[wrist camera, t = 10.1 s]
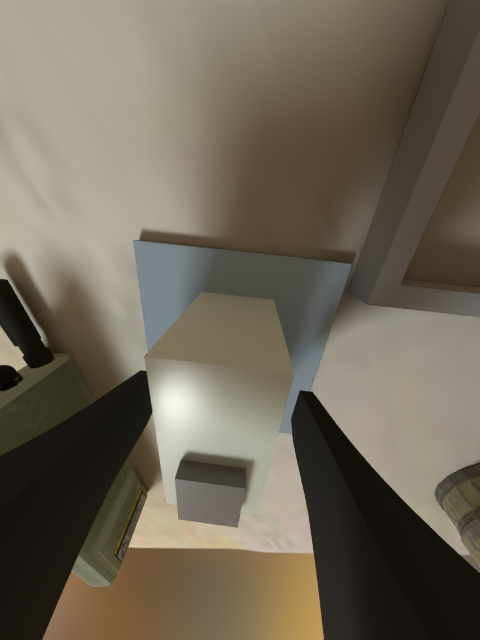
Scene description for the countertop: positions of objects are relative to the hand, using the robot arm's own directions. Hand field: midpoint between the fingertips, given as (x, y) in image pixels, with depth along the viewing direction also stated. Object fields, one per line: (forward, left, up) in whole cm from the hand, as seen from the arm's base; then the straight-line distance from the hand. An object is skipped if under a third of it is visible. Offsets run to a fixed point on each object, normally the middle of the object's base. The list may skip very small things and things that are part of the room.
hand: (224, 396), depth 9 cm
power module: (0, 0, -3) cm, 3 cm away
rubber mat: (0, 0, -4) cm, 4 cm away
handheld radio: (+11, +9, -4) cm, 15 cm away
